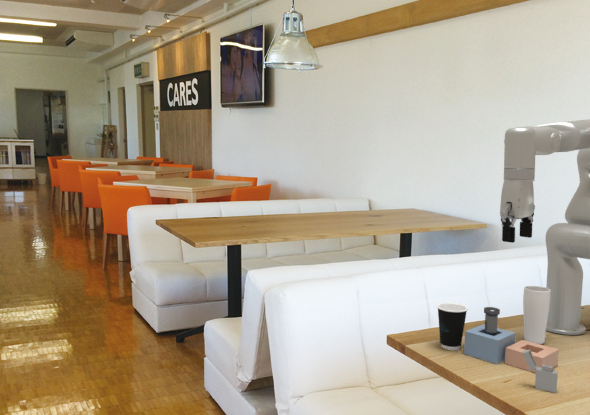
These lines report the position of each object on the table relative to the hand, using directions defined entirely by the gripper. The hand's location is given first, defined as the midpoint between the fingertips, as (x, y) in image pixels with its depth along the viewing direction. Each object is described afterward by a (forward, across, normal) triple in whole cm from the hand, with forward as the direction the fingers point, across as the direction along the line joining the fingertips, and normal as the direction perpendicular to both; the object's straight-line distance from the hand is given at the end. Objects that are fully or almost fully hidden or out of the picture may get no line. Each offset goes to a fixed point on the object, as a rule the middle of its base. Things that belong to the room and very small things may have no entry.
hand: (517, 239), depth 144 cm
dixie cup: (+28, +16, -10) cm, 34 cm away
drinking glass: (+29, -6, +3) cm, 30 cm away
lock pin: (+28, +13, 0) cm, 31 cm away
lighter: (+28, +23, +17) cm, 40 cm away
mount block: (+28, +11, +10) cm, 32 cm away
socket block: (+28, +13, 0) cm, 31 cm away
